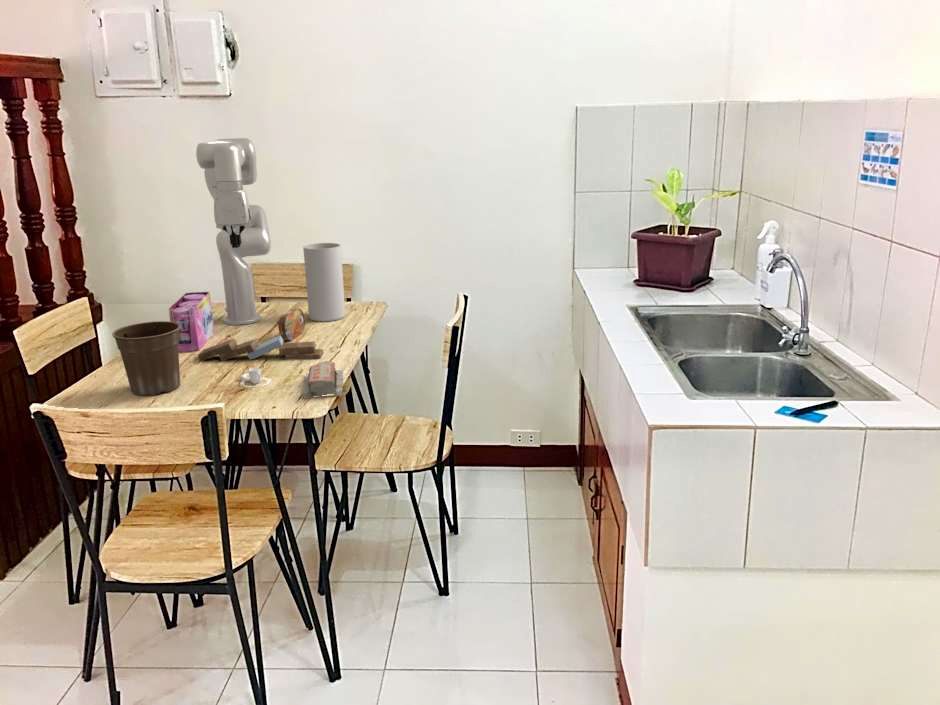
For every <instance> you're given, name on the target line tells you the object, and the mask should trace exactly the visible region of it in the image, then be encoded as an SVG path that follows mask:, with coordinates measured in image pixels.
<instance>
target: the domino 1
mask: <svg viewBox="0 0 940 705" xmlns="http://www.w3.org/2000/svg"><path fill="white" fill-rule="evenodd" d="M237 345H238V342H237V341H236V339H235V338H232V339H228V340H227V341H224V342H221V343H218V344H215V345H212V346H210V347H207V348H205V349H203V350H201V351H200V352H199V353H198V354H197V357H198V359H199V361H200V362H202V361H205V360H208V359H211V358H214V357H216V356H219V355H220V354H223V353H225V352H228V351H231V350H233V349H234V348H235V347H236V346H237Z"/></svg>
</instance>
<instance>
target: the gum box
mask: <svg viewBox="0 0 940 705" xmlns="http://www.w3.org/2000/svg"><path fill="white" fill-rule="evenodd" d="M210 292H211V291H196V292H185V293H184V294H183V295H182V296H181V297H180V298H179V299H178V300H176V301H175V302H174V303H173V304H172V305H170V307H168V312H169V313H168V314H169V322H175V323H178V324H179V325H180V329H179V342H178V351H179V353H180V352H182V353H183V352H199V351H200V350H201V349H202V348H203V346H204V345H205V344H206V343H207V341H209V340H210V337H212V336H213V334H214V333H215V326H214V325H215V323H214V316H213V310H212V308H213V307H212V300H211V293H210Z"/></svg>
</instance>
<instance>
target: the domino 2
mask: <svg viewBox="0 0 940 705" xmlns="http://www.w3.org/2000/svg"><path fill="white" fill-rule="evenodd" d="M258 345H259V343H258V341H257V339H252V340H248V341H245V342H243V343H239V344H237V346H236V347H235V348H234V349H233V350H231V351H228V352H225V353H223V354H220V355H218V356H219V358H220V360H221V362H223V361H226V360H230V359H232V358H236V357H238V356H241V355H245V354H247V353H248V352H251V351H254V350H255V349H256V348H257V346H258Z"/></svg>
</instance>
